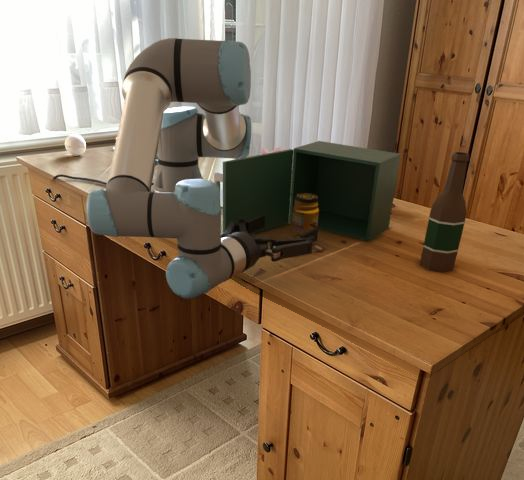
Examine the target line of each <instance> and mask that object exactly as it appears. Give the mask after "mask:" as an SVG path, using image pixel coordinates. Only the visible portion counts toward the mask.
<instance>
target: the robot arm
mask: <svg viewBox="0 0 524 480" xmlns="http://www.w3.org/2000/svg"><path fill="white" fill-rule="evenodd" d="M250 63H251V59H250V52H249V49H248V47H247V45H246V44H245V43H244V42H242V41H235V40H232V39H225V40H213V39H191V38H176V37H168V38H163V39H159V40H156V41H154V42H153V43H151V44H149V45H148V46H146V47H145V48H144V49H143V50H142V51H140V52H139V53H138V54H137V56H135V58H134V59H133V60H132V61H131V62H130V64H129V65H128V67H127V70H126V72H125V74H124V77H123V81H122V85H121V93H122V97H123V99H124V101H123V107H122V112H121V117H120V121H119V125H118V130H117V134H116V137H117V139H116V140H115V144H114V147H113V148H114V149H113V153H112V158H111V163H110V167H109V171H108V177H107V181H103V180H98V179H94V178H87V177H80V176H71V175H67V174H63V173H62V174H61V173H60V174H56V175H54V176H53V177H52V180H56V179H58V178H65V179H70V180H80V181H87V182H93V183H97V184H101V185H104V186H106V187H105V189H104V188H100V189H93V190H91V191H90V192H89V194H88V195H87V197H86V203H85V205H86V206H85V208H86V209H85V212H86V214H85V215H86V220H87V224H88V226H89V229H90V231H91V232H92V233H93V234H95V235H98V236H105V237H107V236H108V237H114V238H119V237H126V238H127V237H131V238H132V237H133V238H135V237H136V238H137V237H138V238H156V239H157V238H160V239H176V240H177V256H176V257H174V258H173V259H172V260H171V261H169V263H168V265H167V267H166V269H165V278H166V281H167V284H168V286H169V288H170V289H171V291H172V292H173V293H174V294H175V295H177V296H178V297H180V298H182V299H186V300H189V299H194V298H197V297H198V296H201V295H204V294H207V293H208V292H210V291H211V290H213V289H214V288H216V287H218V286H219V285H221V284H222V283H225V282H227V281H229V280H230V279H232V278H233V277H236V276H238V275H239V274H241V273H242V274H243V272H245V271H247V270H249V269H251V268H253V267H255V265H256V264H257V262H258V261H259V260H260V258H261V259H262V258H265V257H270V261H271V262H274V263H275V262H278V261H281V260H285V259H290V258H295V257H300V256H305V255H306V256H307V255H312V253H313V250H312V246H313V243H314V242H315V241H316V242H317V241H318V235H319V229H318V228H313V229H312V230H310V231H308V232H306V233H304V234H302V235H300V238H290V237H289V238H274V237H272V236H271V237H261V236H255V235H249V234H250V233H253V232H255V231H257V230H259V229H261V228H263V227H265V215H260V216H258V217H256V218H253V219H251V220H249V221H246V222H245V219H242V218H241V219H239V224H237V223H236V221H231V222H230V224H229V225H228V227H227V229H226V231H225V232H224V233H223V232H222V215H221V207H222V204H221V189H220V190H219V187H218V186H217V185H216V184H215V183H214V181H211V180H208V179H204V177H203V175H202V173H201V170H200V166H199V158H212V159H213V158H215V159H233V160H235V159H240V158H246V157H249V154H250V148H251V141H252V119H251V117H250V116H249V115H248V114H244V113H241V112H240V106H243V105H247V104H248V103H249V100H250V97H251V88H252V87H251V86H252V69H251V64H250ZM171 103H187V104H188V103H189V104H196V105H198V107H199V108H200V109H201V110H203V112H199V110H198V107H196V106H189V105H188V106H177V107H176V106H175V107H171V108H170V105H171ZM156 159H157V160H158V163H156ZM155 163H156V164H157V169H156V167H155V166H156V164H155ZM155 169H156V173H154V172H155ZM154 174H155V177H154ZM153 180H154V181H153ZM152 189H153V190H152ZM268 243H269V244H268Z"/></svg>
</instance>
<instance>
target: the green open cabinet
mask: <svg viewBox="0 0 524 480" xmlns="http://www.w3.org/2000/svg"><path fill="white" fill-rule="evenodd" d="M401 156H402V154H401V153H397V152H393V151H392V152H391V151H385V150H379V149H372V148H367V147H360V146H353V145H348V144H341V143H335V142H328V141H323V140H317V141H314V142H311V143H306V144H304V145H300V146H297V147H293V165H292V180H291V195H290V211H289V223H291V222H292V209H293V207H294V205H295V204H294V202H295V197H296V195H297V194H300V193H309V194H314V195H316V196H318V209H319V216H318V226H317V228H318V231H319V230H320V231H324V232H328V233H332V234H337V235H340V236H344V237H347V238H348V237H349V238H353V239H357V240H360V241H363V242H370V241H372V240H373V239H375V238H376V237H378V236H379V235H381V234H382V233H383V232H386V230H388V229H389V228H390V221H391V215H392V208H393V202H394V197H395V192H396V187H397V186H396V185H397V179H398V173H399V168H400V162H401V161H400V160H401Z"/></svg>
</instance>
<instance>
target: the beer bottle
mask: <svg viewBox="0 0 524 480" xmlns="http://www.w3.org/2000/svg"><path fill="white" fill-rule="evenodd" d="M450 160H451V162H450V166H449V170H448V173H447V177H446V180H445V184H444V187H443V189H442V192H441V193H440V194H438V195H437V197H436V198H435V200H434V201H433V203H432V205H431V209H430V211H429V216H428V221H427V226H426V231H425V236H424V239H423V240H424V241H423V246H422V250H421V255H420V256H421V257H420V262H419V263H420V264H419V265H420V267H422V268H424V269H425V270H428V271H431V272H435V273H436V272H437V273H446V272H451V271H453V270H454V267H455V264H456V261H457V256H458V252H459V248H460V244H461V240H462V235H463V231H464V227H465V224H466V218H467V204H466V203H467V202H466V200H465V197H464V194H463V192H464V184H465V179H466V178H465V177H466V171H467V166H468V162H469V161H470V154H469V153H467V152H464V151H463V152H462V151H454V152H452V154H451V156H450Z"/></svg>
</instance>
